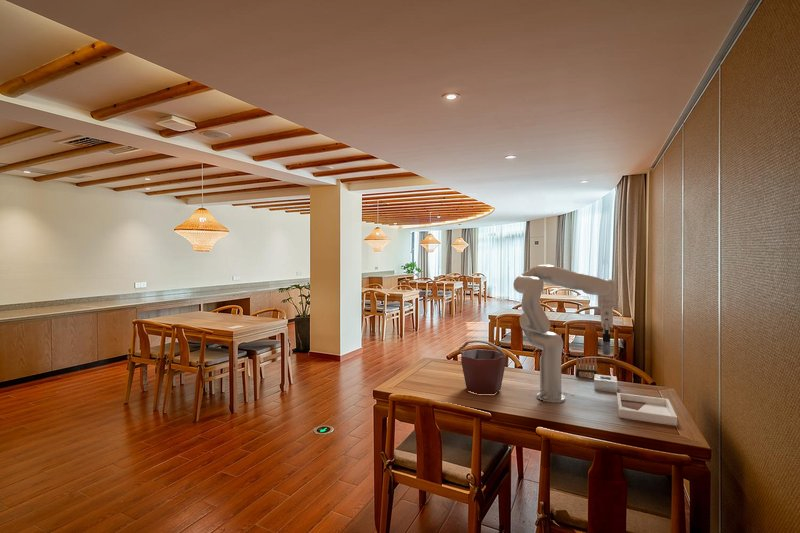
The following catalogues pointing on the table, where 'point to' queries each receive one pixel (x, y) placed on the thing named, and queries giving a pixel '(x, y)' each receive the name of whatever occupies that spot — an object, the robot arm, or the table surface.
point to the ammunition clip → (586, 368)
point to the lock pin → (606, 348)
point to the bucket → (483, 368)
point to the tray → (648, 409)
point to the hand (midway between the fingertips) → (606, 340)
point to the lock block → (605, 383)
